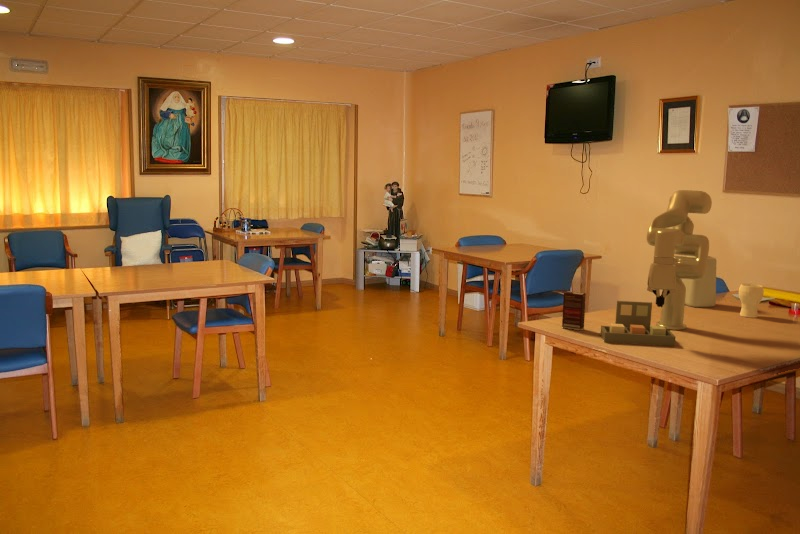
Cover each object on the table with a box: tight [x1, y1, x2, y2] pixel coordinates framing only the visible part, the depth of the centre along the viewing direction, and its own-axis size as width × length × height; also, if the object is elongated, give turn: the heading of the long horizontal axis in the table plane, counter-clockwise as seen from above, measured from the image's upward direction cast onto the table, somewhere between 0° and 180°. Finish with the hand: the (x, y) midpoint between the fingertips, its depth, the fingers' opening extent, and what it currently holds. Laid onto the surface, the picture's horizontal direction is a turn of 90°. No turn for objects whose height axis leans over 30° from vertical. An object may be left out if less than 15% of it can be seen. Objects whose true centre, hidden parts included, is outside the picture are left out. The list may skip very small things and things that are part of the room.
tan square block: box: [609, 322, 625, 333], centre depth 284 cm, size 5×5×3 cm
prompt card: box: [614, 300, 653, 328], centre depth 292 cm, size 2×14×14 cm, turn 82°
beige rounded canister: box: [681, 255, 717, 308], centre depth 358 cm, size 15×15×28 cm
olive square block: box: [650, 325, 666, 335], centre depth 282 cm, size 5×5×3 cm
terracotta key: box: [630, 325, 645, 334], centre depth 283 cm, size 5×5×3 cm
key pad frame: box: [600, 325, 676, 347], centre depth 283 cm, size 12×27×4 cm, turn 81°
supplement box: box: [561, 290, 587, 332], centre depth 300 cm, size 9×5×16 cm, turn 59°
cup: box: [738, 283, 765, 319], centre depth 334 cm, size 11×11×15 cm
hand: (659, 306), depth 280 cm, fingers closed
